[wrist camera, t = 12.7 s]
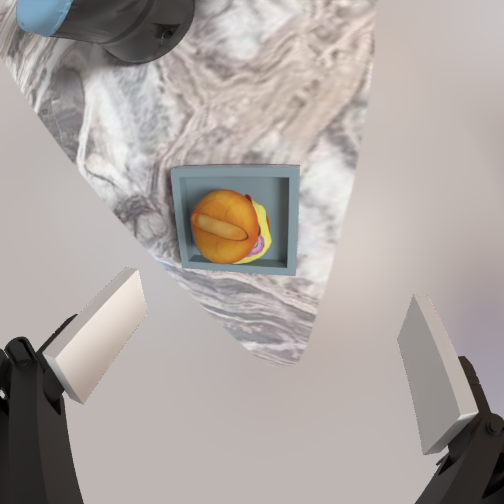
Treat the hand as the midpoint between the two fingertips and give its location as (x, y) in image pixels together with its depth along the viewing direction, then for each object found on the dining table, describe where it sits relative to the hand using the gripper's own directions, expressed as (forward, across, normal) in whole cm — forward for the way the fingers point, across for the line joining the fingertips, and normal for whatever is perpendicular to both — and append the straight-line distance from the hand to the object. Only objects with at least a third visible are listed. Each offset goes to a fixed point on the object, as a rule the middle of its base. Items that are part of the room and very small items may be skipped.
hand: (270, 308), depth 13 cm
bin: (+28, -8, -6) cm, 30 cm away
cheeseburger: (+28, -8, -6) cm, 30 cm away
